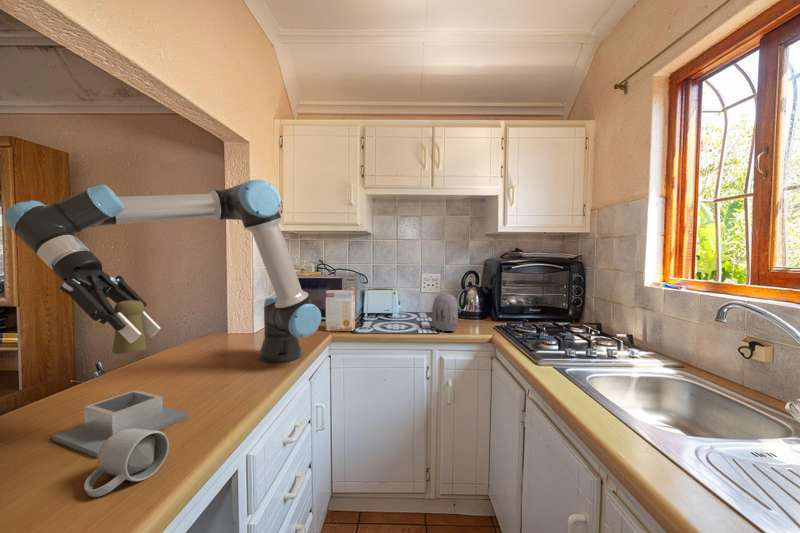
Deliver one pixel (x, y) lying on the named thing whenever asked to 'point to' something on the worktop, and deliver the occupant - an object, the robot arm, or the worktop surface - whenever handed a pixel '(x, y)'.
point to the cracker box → (340, 310)
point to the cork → (133, 314)
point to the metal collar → (123, 412)
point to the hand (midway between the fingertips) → (146, 335)
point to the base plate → (93, 442)
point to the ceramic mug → (128, 458)
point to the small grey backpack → (445, 312)
